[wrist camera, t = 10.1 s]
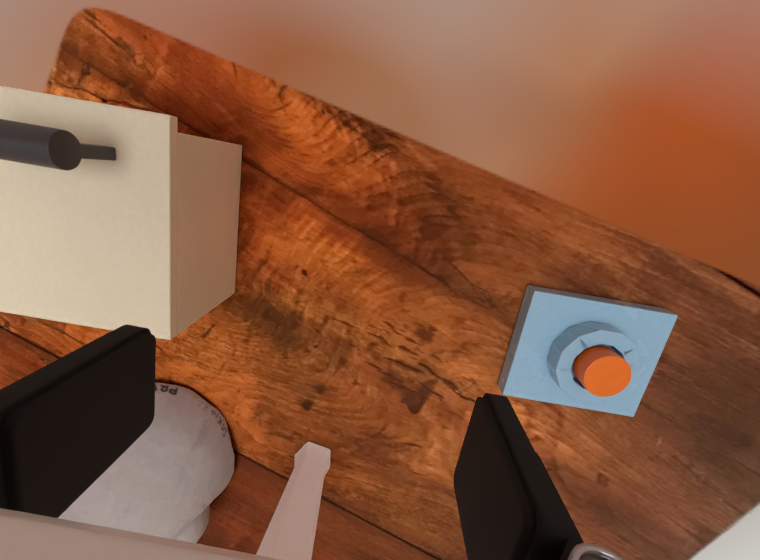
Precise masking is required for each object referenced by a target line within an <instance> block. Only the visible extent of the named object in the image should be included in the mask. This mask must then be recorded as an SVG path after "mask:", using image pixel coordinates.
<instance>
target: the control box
mask: <svg viewBox="0 0 760 560" xmlns="http://www.w3.org/2000/svg"><path fill="white" fill-rule="evenodd" d="M677 317H678V315H676V314H674V313H672V312H670V311H668V310H666V309H664V308H660V307H654V306H648V305H643V304H637V303H631V302H625V301H619V300H613V299H608V298H602V297H596V296H590V295H584V294H578V293H573V292H567V291H561V290H555V289H549V288H543V287H538V286H532V285H527V288H526V292H525V295H524V298H523V302H522V305H521V308H520V312H519V315H518V318H517V321H516V325H515V328H514V331H513V335H512V338H511V341H510V345H509V348H508V351H507V355H506V358H505V361H504V365H503V368H502V371H501V375H500V378H499V381H498V386H499V388H500V390H501V392H502V394H503V395H507V396H513V397H519V398H525V399H531V400H537V401H543V402H548V403H554V404H560V405H566V406H572V407H578V408H584V409H590V410H596V411H602V412H608V413H614V414H620V415H625V416H631V417H634V414H635V412H636V410H637V408H638V405H639V403H640V401H641V399H642V396H643V394H644V392H645V389H646V387H647V385H648V383H649V380H650V378H651V376H652V374H653V371H654V369H655V367H656V364H657V362H658V360H659V358H660V355H661V353H662V351H663V349H664V346H665V344H666V342H667V339H668V337H669V335H670V333H671V330H672V328H673V326H674V324H675V321H676V319H677ZM593 346H604V347H608V348H610V349H612V350H613V351H614V352H616V353H617V354H618V355H619V356H621V357H622V358H623V359H624V360H625V361H627V362H628V364H629V365H630V368H631V372H632V375H631V380H630V382H629V384H628V385H627V386H626V388H625V389H624V390H622V391H621V392H619V393H618V394H615V395H613V396H608V397H600V396H596V395H593V394H592V393H590V392H589V391H588V390H587V389H586V388H585V387H584V386H583V385H582V384H581V382H580V381H579V380H578V379H577V378H576V376H575V375H574V371H573V365H574V361H575V359H576V358H577V356H578V355H579V354H580V353H581V352H582V351H584V350H585V349H587V348H590V347H593Z"/></svg>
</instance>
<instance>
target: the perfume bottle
mask: <svg viewBox="0 0 760 560" xmlns="http://www.w3.org/2000/svg"><path fill="white" fill-rule="evenodd" d="M330 454H331V451H330V449H328V448H326V447H323V446H320V445H317V444H315V443H312V442H307V443H306V444H305V445H304V446H303V447H302V448H301V449H300V450H299V451H298V452H297V453H296V454H295V455H294V469H293V472H292V474H291V476H290V478H289V481H288V483H287V485H286V488H285V490H284V492H283V494H282V497H281V499H280V501H279V504H278V506H277V508H276V510H275V513H274V515H273V517H272V520H271V522H270V524H269V526H268V529H267V531H266V533H265V536H264V538H263V540H262V542H261V545H260V547H259V549H258V552H257V554H256V555H260V556H265V557H270V558H276V559H281V560H311V557H312V551H313V545H314V538H315V532H316V526H317V519H318V513H319V506H320V500H321V494H322V487H323V481H324V477H325V475H326V473H327V472H328V470H329V468H330Z"/></svg>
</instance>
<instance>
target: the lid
mask: <svg viewBox="0 0 760 560" xmlns="http://www.w3.org/2000/svg"><path fill="white" fill-rule="evenodd" d="M177 143H178V119H177V117H175V116H171V115H167V114H161V113H155V112H150V111H144V110H138V109H132V108H127V107H121V106H115V105H110V104H104V103H98V102H92V101H87V100H81V99H75V98H69V97H64V96H58V95H52V94H46V93H40V92H34V91H28V90H23V89H17V88H12V87H6V86H0V312H6V313H12V314H18V315H24V316H30V317H36V318H42V319H48V320H54V321H60V322H66V323H71V324H77V325H83V326H89V327H95V328H101V329H107V330H115V329H117V328H119V327H121V326H123V325H126V324H127V325H133V326H138V327H143V328H148V329H149V330H150V332H151V334H153V335H154V336H155V338H160V339H166V340H171V339H172V338H174V337H175V336H176V335H177Z"/></svg>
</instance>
